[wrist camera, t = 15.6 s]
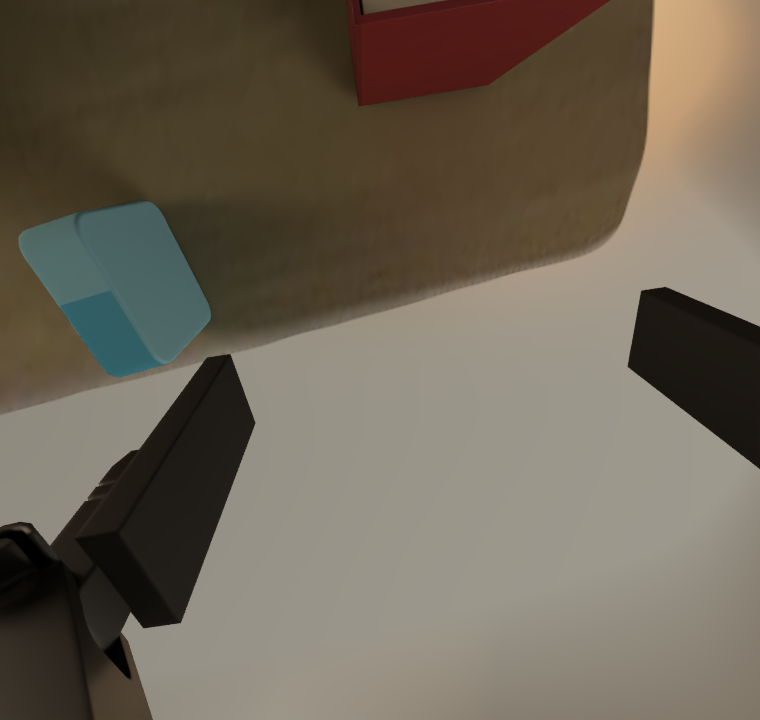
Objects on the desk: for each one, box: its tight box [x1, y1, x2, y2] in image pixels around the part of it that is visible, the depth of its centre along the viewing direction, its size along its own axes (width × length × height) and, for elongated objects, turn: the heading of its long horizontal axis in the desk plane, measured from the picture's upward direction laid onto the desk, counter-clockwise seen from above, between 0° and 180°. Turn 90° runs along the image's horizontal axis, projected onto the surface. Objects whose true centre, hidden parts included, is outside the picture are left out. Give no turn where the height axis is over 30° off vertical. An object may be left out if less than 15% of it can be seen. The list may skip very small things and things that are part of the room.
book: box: [346, 0, 610, 106], centre depth 23 cm, size 20×11×4 cm
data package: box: [19, 200, 211, 377], centre depth 33 cm, size 12×4×12 cm, turn 16°
